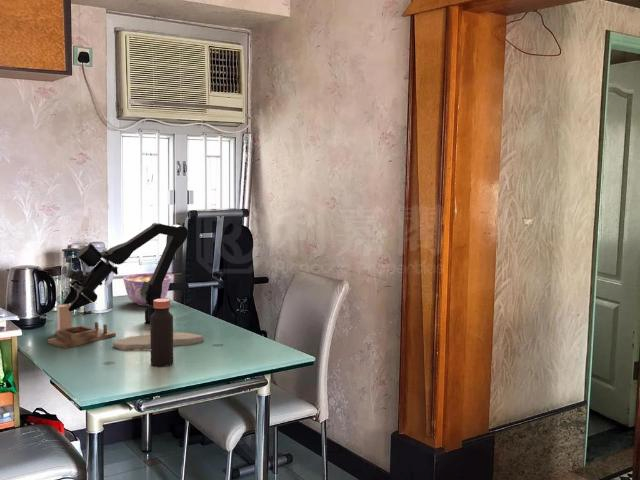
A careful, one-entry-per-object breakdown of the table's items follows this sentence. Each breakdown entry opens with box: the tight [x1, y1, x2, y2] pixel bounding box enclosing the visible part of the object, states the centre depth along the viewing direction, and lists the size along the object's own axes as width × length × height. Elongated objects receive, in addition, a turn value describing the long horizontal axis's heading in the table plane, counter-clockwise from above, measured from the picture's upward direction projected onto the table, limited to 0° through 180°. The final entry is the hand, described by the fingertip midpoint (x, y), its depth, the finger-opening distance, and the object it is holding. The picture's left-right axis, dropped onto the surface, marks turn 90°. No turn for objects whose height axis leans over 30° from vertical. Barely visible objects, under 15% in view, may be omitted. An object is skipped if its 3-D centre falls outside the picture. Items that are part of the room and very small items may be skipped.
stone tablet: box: [112, 331, 204, 351], centre depth 231 cm, size 16×30×2 cm, turn 121°
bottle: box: [149, 298, 174, 368], centre depth 205 cm, size 7×7×20 cm
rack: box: [47, 321, 117, 349], centre depth 232 cm, size 20×10×4 cm, turn 144°
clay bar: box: [56, 303, 73, 331], centre depth 239 cm, size 4×4×10 cm
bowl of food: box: [123, 273, 172, 307], centre depth 290 cm, size 20×20×12 cm
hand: (66, 308), depth 239 cm, fingers open, 9 cm apart
